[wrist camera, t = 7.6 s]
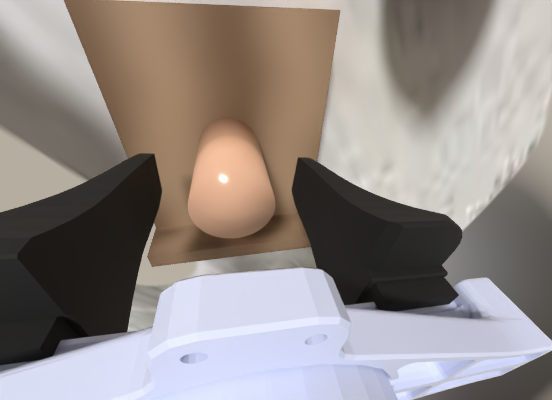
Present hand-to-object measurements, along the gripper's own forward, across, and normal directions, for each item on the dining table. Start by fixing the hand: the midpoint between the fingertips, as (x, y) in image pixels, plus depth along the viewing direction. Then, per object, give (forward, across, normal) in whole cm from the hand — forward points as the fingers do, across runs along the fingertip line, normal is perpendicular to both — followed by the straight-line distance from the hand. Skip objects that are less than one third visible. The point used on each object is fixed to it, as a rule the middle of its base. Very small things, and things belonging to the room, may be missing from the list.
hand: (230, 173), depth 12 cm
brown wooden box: (+5, 0, 0) cm, 5 cm away
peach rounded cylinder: (+3, 0, 0) cm, 3 cm away
